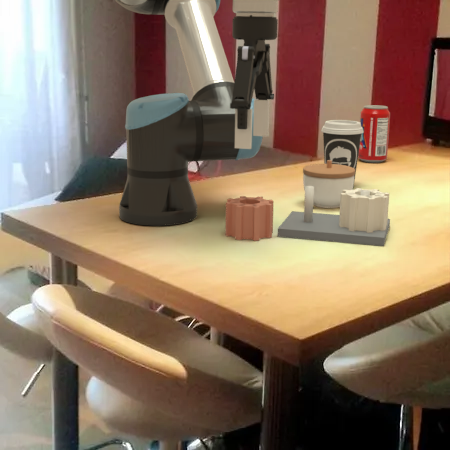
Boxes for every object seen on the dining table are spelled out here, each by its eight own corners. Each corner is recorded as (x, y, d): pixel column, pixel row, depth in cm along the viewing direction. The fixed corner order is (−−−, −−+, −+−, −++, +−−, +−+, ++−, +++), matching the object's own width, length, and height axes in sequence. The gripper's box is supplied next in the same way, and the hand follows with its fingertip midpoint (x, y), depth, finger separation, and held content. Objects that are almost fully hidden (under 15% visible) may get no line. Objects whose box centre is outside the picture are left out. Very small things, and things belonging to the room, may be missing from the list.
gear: (223, 239, 129) (223, 206, 128) (228, 226, 137) (228, 195, 136) (271, 241, 128) (271, 208, 127) (273, 228, 136) (274, 197, 135)
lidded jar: (352, 212, 149) (354, 166, 146) (299, 209, 151) (300, 164, 148) (354, 200, 159) (356, 157, 156) (304, 197, 161) (305, 155, 158)
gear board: (277, 236, 132) (278, 192, 129) (292, 218, 144) (293, 178, 141) (383, 246, 126) (386, 200, 124) (389, 226, 138) (392, 184, 136)
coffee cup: (369, 188, 170) (373, 123, 166) (338, 193, 165) (341, 126, 161) (340, 180, 178) (343, 118, 174) (310, 185, 173) (312, 121, 169)
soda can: (380, 164, 198) (384, 108, 194) (353, 161, 202) (356, 106, 198) (391, 160, 205) (394, 105, 201) (364, 157, 209) (367, 103, 205)
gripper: (261, 15, 110) (257, 155, 116) (290, 15, 134) (286, 132, 139) (212, 14, 112) (211, 152, 118) (250, 15, 135) (248, 130, 141)
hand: (252, 142), depth 129 cm, fingers open, 13 cm apart
